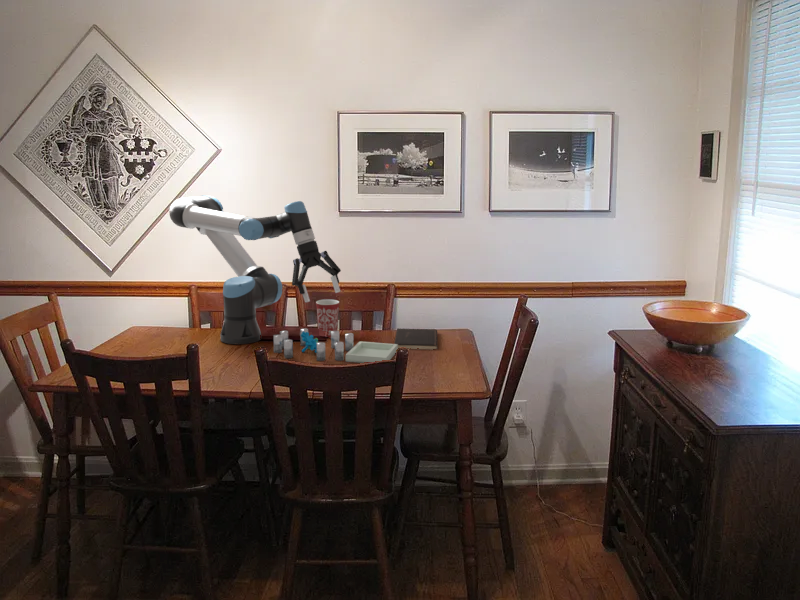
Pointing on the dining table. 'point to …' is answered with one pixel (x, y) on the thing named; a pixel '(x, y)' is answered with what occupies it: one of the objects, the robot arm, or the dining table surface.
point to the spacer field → (287, 344)
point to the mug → (327, 315)
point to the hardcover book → (416, 338)
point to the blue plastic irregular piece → (309, 342)
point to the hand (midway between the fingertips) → (323, 297)
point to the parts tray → (371, 352)
